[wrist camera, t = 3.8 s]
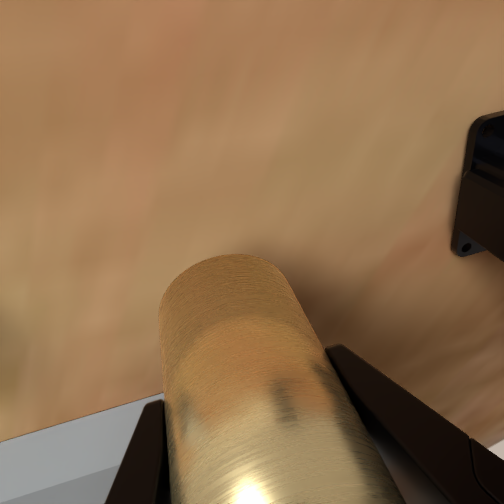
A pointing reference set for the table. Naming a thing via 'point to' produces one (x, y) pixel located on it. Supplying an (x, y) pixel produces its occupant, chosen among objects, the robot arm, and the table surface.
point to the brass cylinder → (257, 396)
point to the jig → (69, 458)
